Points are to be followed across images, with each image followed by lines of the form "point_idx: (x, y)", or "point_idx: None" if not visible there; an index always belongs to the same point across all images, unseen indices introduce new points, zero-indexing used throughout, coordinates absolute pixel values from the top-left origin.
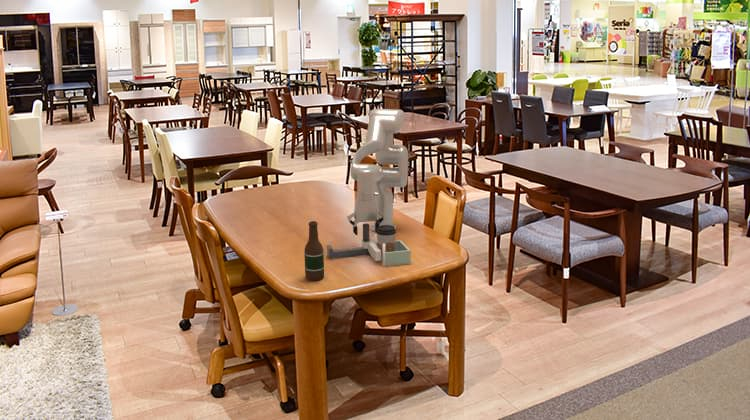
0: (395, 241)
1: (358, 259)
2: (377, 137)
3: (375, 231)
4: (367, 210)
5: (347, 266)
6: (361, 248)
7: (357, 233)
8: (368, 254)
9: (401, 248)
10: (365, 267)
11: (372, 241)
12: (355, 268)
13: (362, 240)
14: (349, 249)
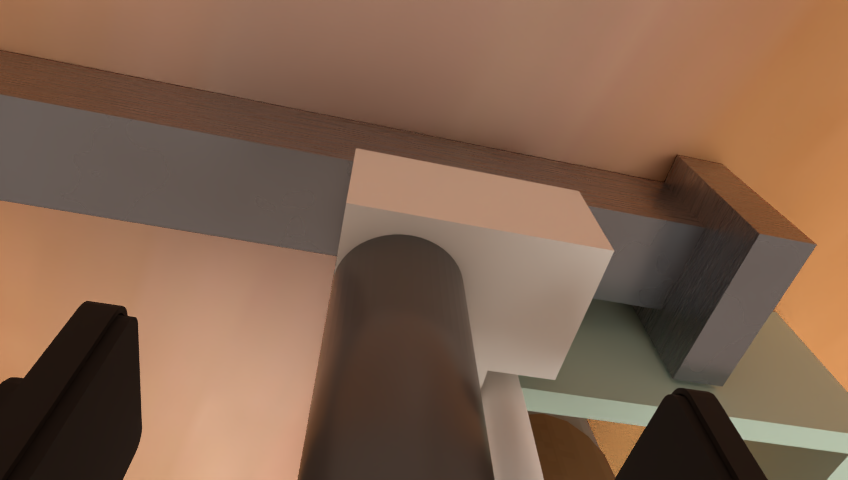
0: (793, 444)
1: (229, 290)
2: None
3: (657, 415)
4: None
5: None
6: (313, 217)
7: (124, 474)
8: None
9: (752, 453)
10: (229, 475)
11: (480, 361)
12: None
13: (339, 245)
14: (103, 174)
